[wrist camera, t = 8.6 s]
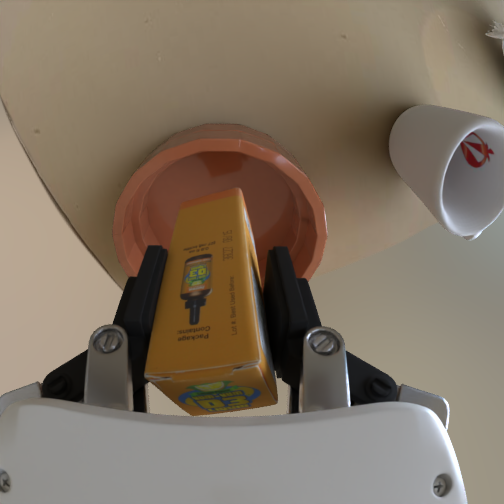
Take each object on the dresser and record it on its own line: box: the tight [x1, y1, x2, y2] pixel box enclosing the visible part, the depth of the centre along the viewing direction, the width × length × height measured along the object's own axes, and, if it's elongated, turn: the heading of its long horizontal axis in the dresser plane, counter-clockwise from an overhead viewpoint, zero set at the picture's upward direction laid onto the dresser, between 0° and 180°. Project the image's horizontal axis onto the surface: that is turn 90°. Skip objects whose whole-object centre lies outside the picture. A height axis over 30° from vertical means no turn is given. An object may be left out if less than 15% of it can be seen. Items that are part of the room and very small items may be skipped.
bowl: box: [112, 124, 328, 292], centre depth 20 cm, size 13×13×5 cm
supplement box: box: [144, 187, 278, 416], centre depth 11 cm, size 3×3×10 cm
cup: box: [389, 105, 504, 240], centre depth 16 cm, size 11×8×8 cm
